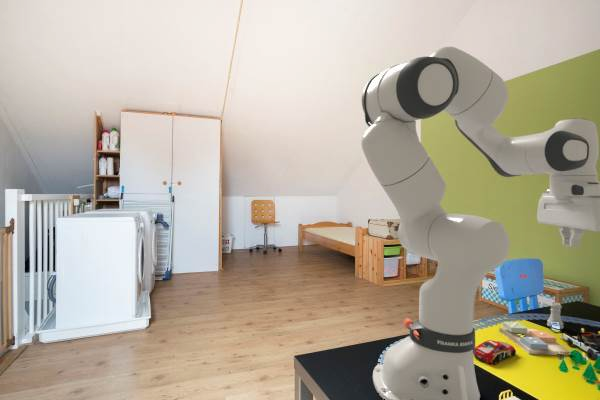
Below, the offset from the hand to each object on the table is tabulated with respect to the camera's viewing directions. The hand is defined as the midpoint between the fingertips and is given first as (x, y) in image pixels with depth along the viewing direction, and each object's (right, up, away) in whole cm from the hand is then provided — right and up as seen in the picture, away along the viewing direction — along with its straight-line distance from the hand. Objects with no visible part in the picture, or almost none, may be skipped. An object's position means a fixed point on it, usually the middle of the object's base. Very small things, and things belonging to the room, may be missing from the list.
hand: (570, 246), depth 79 cm
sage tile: (+1, -29, +23) cm, 37 cm away
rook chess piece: (+19, -31, +30) cm, 47 cm away
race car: (-12, -31, +10) cm, 35 cm away
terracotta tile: (+6, -30, +18) cm, 35 cm away
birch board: (+4, -31, +18) cm, 36 cm away
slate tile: (+1, -30, +14) cm, 33 cm away
